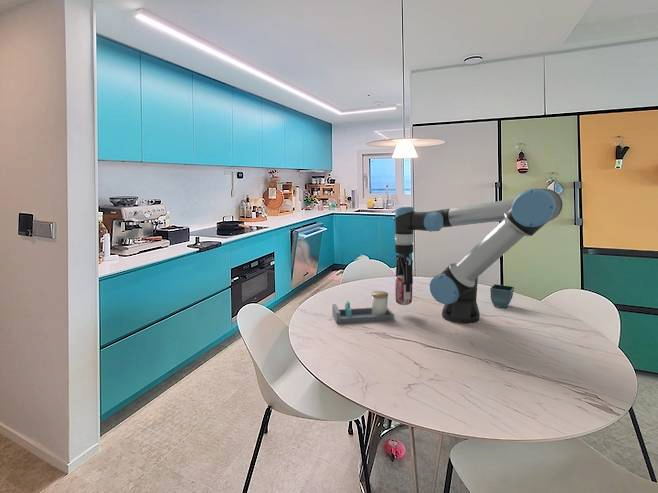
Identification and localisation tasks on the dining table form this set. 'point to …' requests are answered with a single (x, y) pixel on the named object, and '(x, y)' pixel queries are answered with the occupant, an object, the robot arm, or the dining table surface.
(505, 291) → the flower pot
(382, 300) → the jar
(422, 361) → the dining table surface
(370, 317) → the lane
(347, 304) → the pusher
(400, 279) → the soda can
